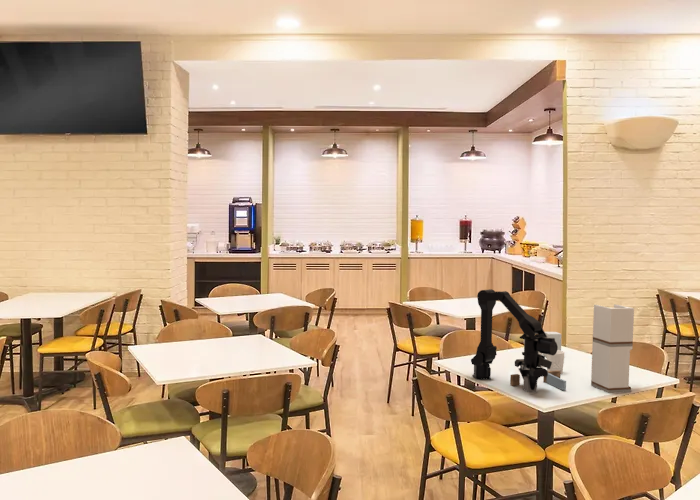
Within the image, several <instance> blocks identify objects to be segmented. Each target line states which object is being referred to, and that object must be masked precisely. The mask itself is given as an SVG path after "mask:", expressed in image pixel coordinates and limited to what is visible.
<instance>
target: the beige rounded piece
mask: <svg viewBox="0 0 700 500" xmlns="http://www.w3.org/2000/svg"><path fill="white" fill-rule="evenodd" d="M546 359H547V360H549V361H551V362H552V364H551V367H550V369H548V368H546V370H547V371H555V370H559V371H561V374H560V375H563V373H564V372H563V369H564V365H565V364H564V363H565V362H564V361H565V351H564V350H561V351H560V350H557V352H556V354H555V355H548V354H547V357H546Z"/></svg>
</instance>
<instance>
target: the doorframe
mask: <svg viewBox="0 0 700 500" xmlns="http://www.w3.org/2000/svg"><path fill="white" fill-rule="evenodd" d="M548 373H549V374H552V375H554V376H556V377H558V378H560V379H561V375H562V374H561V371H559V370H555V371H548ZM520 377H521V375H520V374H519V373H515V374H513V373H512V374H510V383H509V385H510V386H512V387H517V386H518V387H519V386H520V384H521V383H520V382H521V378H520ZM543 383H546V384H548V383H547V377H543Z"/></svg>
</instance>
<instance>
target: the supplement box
mask: <svg viewBox="0 0 700 500" xmlns="http://www.w3.org/2000/svg"><path fill="white" fill-rule="evenodd" d="M544 332H545V334H546V336H547V337H548V338H555V342H556V343H557V346H558V349H557V350H560V351H562V333H560V332H558V331H544ZM542 355H543V356H545V358H547V354H544V353H542Z"/></svg>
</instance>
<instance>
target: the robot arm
mask: <svg viewBox="0 0 700 500" xmlns="http://www.w3.org/2000/svg"><path fill="white" fill-rule="evenodd" d="M476 297H477V304H478V306H479V309H480V340H479V341H480V342H479V344H478V346H477V347H476V354H475V355H474V356H473V357H471V359H470V361H471V362H470V363H471V365H473V374H472V377H473V378H474V379H476V380H491V379H492V378H491V374H492V371H491V370H492V368H491V365H492V364H493V362H494V360H495V358H496V356H497V345H494V344H493V336H492V335H493V311H494V310H493V309H494V308H495V306H496V303H497V301H499V302H500V303H501V304H502V305H503V306H504V307H505V308H506V309H507V311H509V313H510V314H511V315H512V317H514V318H515V319H516V320H517V322H518V327H519V329H520V330H521V331H522V332H523V333H522V335H520V336H519V339H520V340H523V344H524V345H523V351H522V352H521V355H522V356H523V358H519V359H515V360H514V367H516V368H518V371H519V373H520V374H521V375H520V376H521V377H522V379H523V381H524V376H527V377H528V381H529V384H530V388H531V390H534V388H535V385H536V383H537V384H538V380H539V378H542V377H543V378H544V377H547V376H548V371H547V368H548V369H550V367H551V364H552V362H551V361H549V360H547V358H546V357H545V356H544V355H543V353H544V354H548V355H555V354H556V352H557V349H558V346H557V343H556V342H555V338H548V337H547V336H546V334H545V332H546V331H544V329H543V327H542V326H543V325H542V323H541V322H540V321H539V320H537V318H535V317H534V316H532V315H530V314H528V313H527V312H526V311H525V310H524V309H523V308H522V306H520V304H519V303H518V302H517V301H516V300H515V299H514V297H513V296H511V293H509V292H508V291H507V290H504V291H501V290H500V291H495V290H494V289H491V288H490V289H481V290H479V291H478V292H477V296H476ZM538 351H539V352H540V353H542V355H540V354H538ZM519 367H520V368H519Z"/></svg>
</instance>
